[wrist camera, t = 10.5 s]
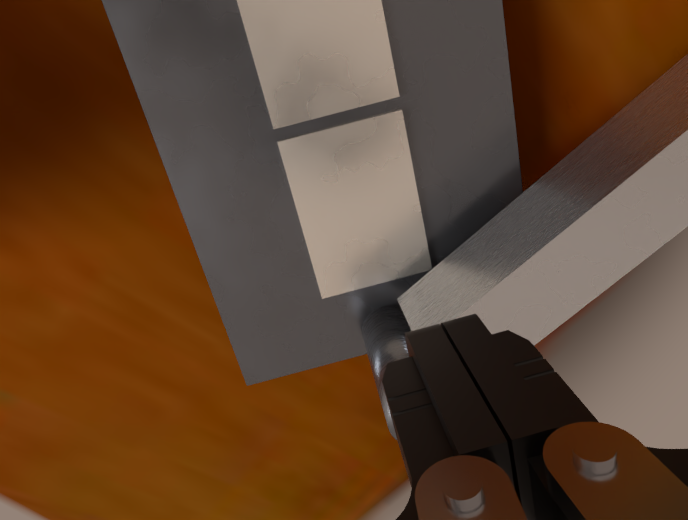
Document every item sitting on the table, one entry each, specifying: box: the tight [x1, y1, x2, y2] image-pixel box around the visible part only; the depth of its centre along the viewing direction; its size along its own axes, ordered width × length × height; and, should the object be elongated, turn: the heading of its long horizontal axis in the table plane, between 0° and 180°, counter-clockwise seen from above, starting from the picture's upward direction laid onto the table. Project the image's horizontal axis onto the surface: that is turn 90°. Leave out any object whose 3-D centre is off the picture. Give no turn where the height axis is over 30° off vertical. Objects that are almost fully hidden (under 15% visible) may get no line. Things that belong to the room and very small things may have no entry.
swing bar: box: [397, 54, 688, 345], centre depth 20 cm, size 19×3×4 cm, turn 132°
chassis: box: [102, 0, 523, 440], centre depth 20 cm, size 18×14×9 cm
